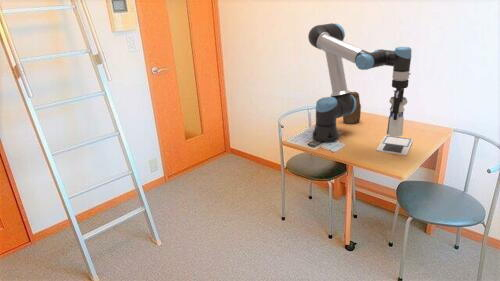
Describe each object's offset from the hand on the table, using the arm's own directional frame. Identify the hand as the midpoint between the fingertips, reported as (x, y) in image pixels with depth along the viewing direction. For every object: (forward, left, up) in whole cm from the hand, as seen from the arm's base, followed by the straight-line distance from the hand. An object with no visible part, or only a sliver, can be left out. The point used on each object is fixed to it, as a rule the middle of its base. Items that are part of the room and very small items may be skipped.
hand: (396, 123), depth 185 cm
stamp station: (0, +6, -15) cm, 16 cm away
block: (-33, +36, -15) cm, 51 cm away
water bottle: (0, 0, -6) cm, 6 cm away
